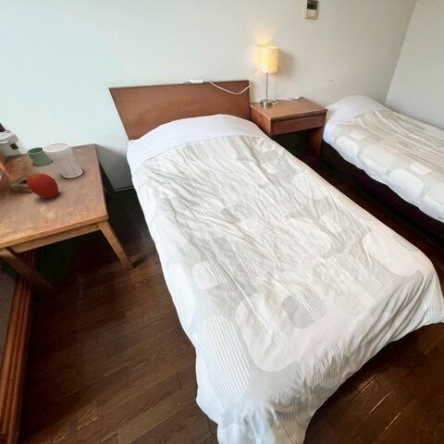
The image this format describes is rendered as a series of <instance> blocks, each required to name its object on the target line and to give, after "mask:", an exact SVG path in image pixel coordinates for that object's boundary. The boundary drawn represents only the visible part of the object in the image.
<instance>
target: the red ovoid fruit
mask: <svg viewBox="0 0 444 444" xmlns="http://www.w3.org/2000/svg"><path fill="white" fill-rule="evenodd" d="M27 178H28V180H27V186H28V188H29V189H30V190H31V191H32V192H31V193H34V194H35V195H36V196H38V197H40V198H43V199H53V198H55V197H57V195H58V194H59V185H58V183H57V181H56V180H55V178H54V177H52V176H51V175H49V174H46V173H36V174H35V173H34V174H33V175H30V176H28V177H27Z"/></svg>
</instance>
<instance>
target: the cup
mask: <svg viewBox="0 0 444 444" xmlns="http://www.w3.org/2000/svg"><path fill="white" fill-rule="evenodd" d="M42 148H43V151H44V153H45V154H46V155H47V157H48V158H49V159H52V163H53V164H54V165H55V167H56V168H57V169H58V171H59V172H60V174H61V175H62V177H63V178H64V179H67V180H68V179H69V180H70V179H75V178H79V177H80V176H82V175H83V173H84V172H83V169H81V167H80V166H79V164H78V162H77V160H76V158H75V157H74V155H73V154H74V151H73V149H72V147H71V146H70V144H69V143H68V142H64V141H63V142H62V141H58V142H52V143H49V144H46V145H44V146H43V147H42Z"/></svg>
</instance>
